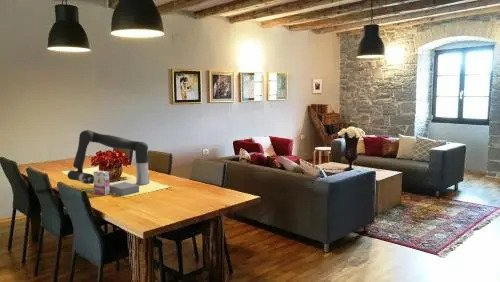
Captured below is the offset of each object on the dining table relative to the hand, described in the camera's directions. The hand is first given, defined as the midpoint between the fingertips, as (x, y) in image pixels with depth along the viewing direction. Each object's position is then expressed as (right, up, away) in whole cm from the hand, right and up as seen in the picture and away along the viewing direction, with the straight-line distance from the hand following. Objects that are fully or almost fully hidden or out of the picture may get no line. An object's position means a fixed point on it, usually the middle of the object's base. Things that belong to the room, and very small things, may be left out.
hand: (98, 181), depth 280 cm
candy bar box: (+3, -9, -2) cm, 10 cm away
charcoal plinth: (+17, -8, +4) cm, 19 cm away
